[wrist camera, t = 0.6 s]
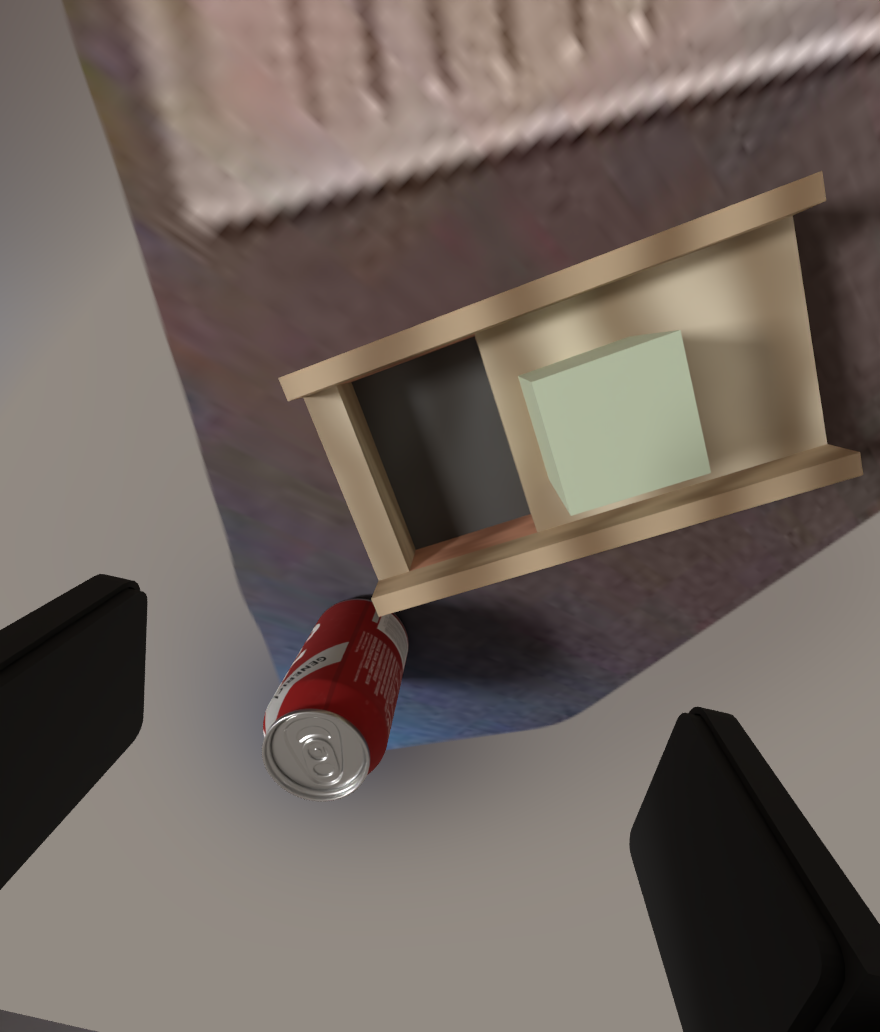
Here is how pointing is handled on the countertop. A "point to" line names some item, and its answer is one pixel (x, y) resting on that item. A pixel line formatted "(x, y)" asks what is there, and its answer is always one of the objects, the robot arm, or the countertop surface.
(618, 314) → the channel track
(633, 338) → the sage block
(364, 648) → the soda can
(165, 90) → the countertop surface
